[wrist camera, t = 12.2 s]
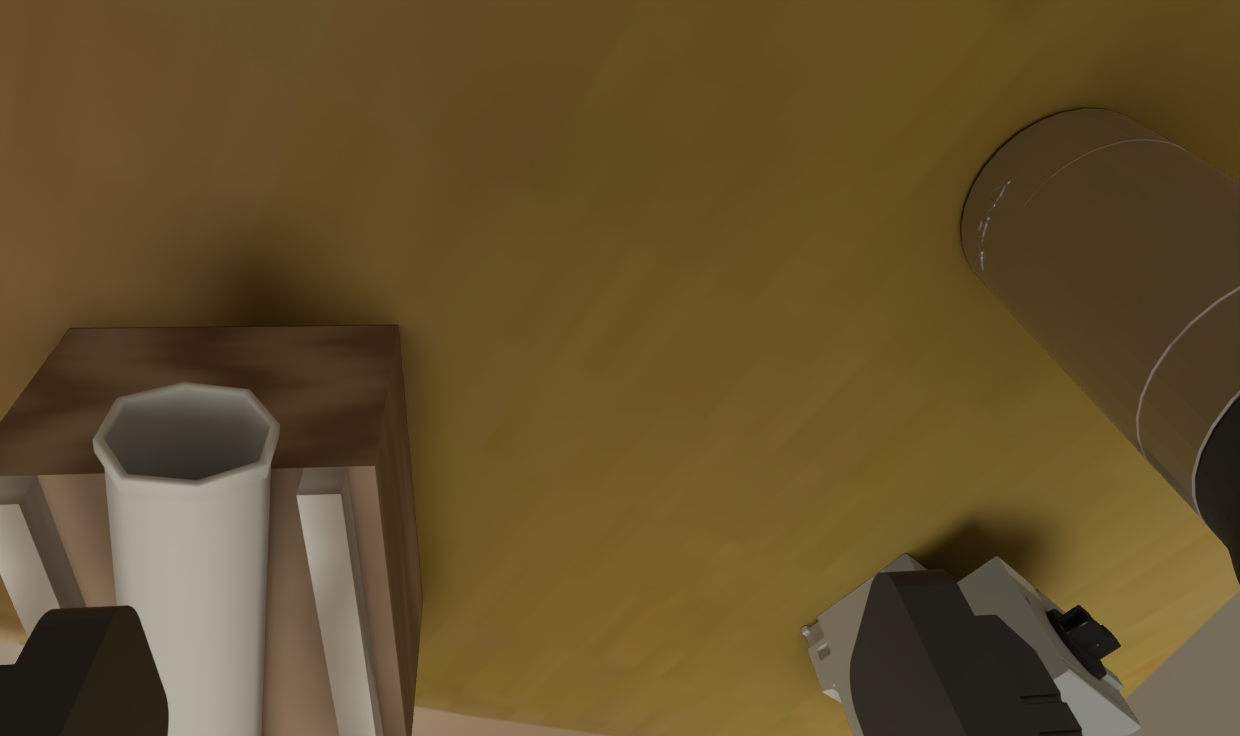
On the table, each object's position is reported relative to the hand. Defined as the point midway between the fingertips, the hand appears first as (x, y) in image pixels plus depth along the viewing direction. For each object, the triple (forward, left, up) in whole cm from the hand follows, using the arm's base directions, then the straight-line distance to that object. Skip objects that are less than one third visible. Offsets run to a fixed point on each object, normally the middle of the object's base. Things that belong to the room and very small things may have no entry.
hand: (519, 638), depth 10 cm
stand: (+12, +23, -30) cm, 39 cm away
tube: (+12, +22, -20) cm, 32 cm away
